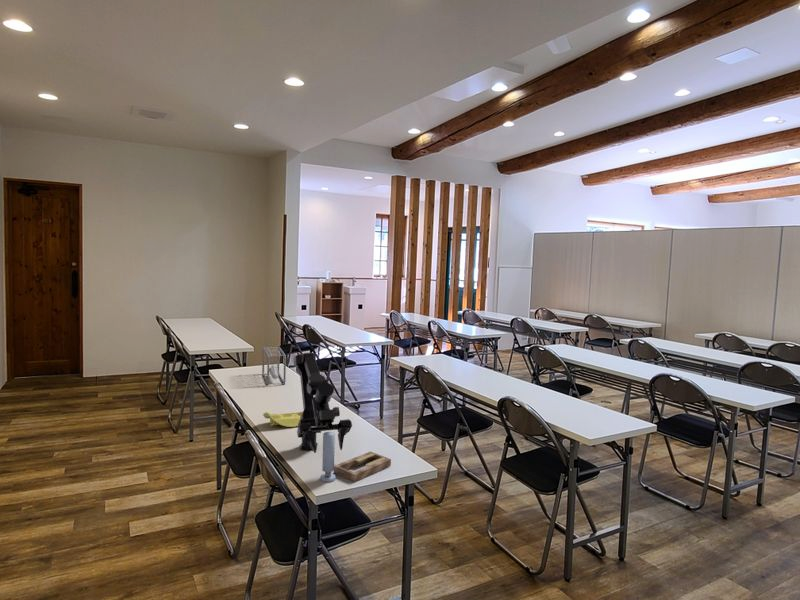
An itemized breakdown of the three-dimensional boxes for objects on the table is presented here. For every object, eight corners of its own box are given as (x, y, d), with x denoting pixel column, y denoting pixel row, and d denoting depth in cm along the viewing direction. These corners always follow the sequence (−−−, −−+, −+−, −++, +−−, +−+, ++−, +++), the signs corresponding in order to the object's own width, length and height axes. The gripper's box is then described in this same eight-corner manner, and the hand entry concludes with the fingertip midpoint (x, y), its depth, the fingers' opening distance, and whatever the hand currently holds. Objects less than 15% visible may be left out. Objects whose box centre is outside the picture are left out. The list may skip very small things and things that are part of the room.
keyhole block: (354, 482, 174) (354, 474, 174) (333, 472, 181) (333, 465, 180) (390, 465, 189) (391, 459, 188) (370, 458, 195) (370, 451, 195)
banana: (301, 412, 240) (309, 408, 233) (302, 428, 238) (311, 425, 230) (260, 415, 229) (267, 411, 222) (261, 432, 227) (268, 428, 219)
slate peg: (320, 475, 178) (321, 431, 177) (335, 475, 179) (336, 431, 177) (319, 482, 173) (320, 436, 172) (335, 482, 173) (336, 436, 172)
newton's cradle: (285, 385, 297) (286, 355, 296) (267, 386, 294) (267, 355, 292) (279, 373, 325) (279, 346, 324) (262, 374, 322) (262, 346, 320)
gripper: (299, 401, 175) (305, 443, 166) (351, 397, 182) (359, 437, 173) (294, 416, 183) (300, 457, 174) (344, 412, 190) (352, 451, 181)
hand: (328, 450), depth 175 cm, fingers open, 9 cm apart
